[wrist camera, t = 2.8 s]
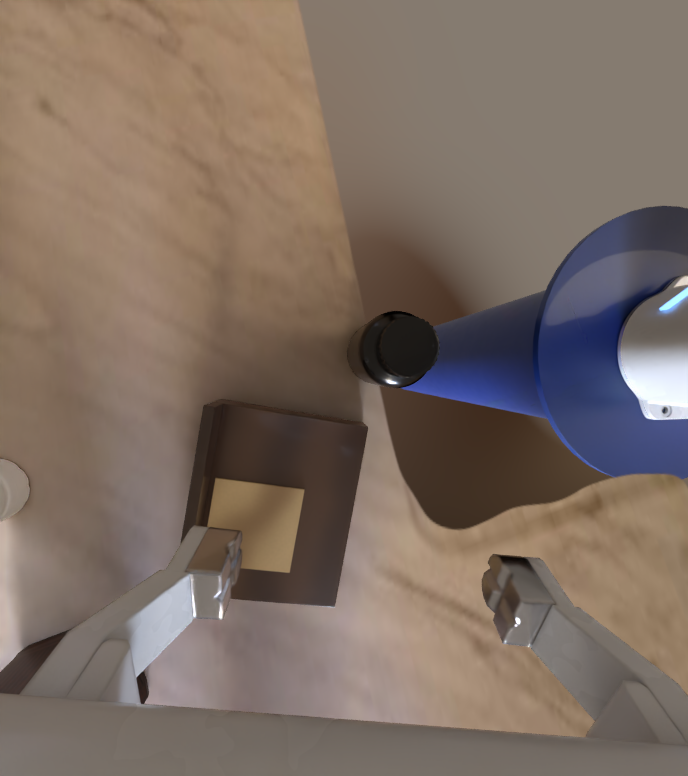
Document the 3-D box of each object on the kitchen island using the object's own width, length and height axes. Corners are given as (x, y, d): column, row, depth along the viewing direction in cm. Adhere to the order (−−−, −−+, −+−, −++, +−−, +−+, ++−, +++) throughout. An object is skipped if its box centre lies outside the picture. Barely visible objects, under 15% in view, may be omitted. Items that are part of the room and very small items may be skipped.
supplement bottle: (416, 351, 37) (469, 343, 25) (378, 396, 37) (414, 409, 25) (373, 311, 36) (407, 283, 24) (334, 356, 36) (349, 350, 24)
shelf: (363, 422, 37) (374, 432, 31) (332, 588, 37) (337, 630, 31) (220, 398, 34) (203, 405, 29) (190, 575, 35) (168, 617, 29)
